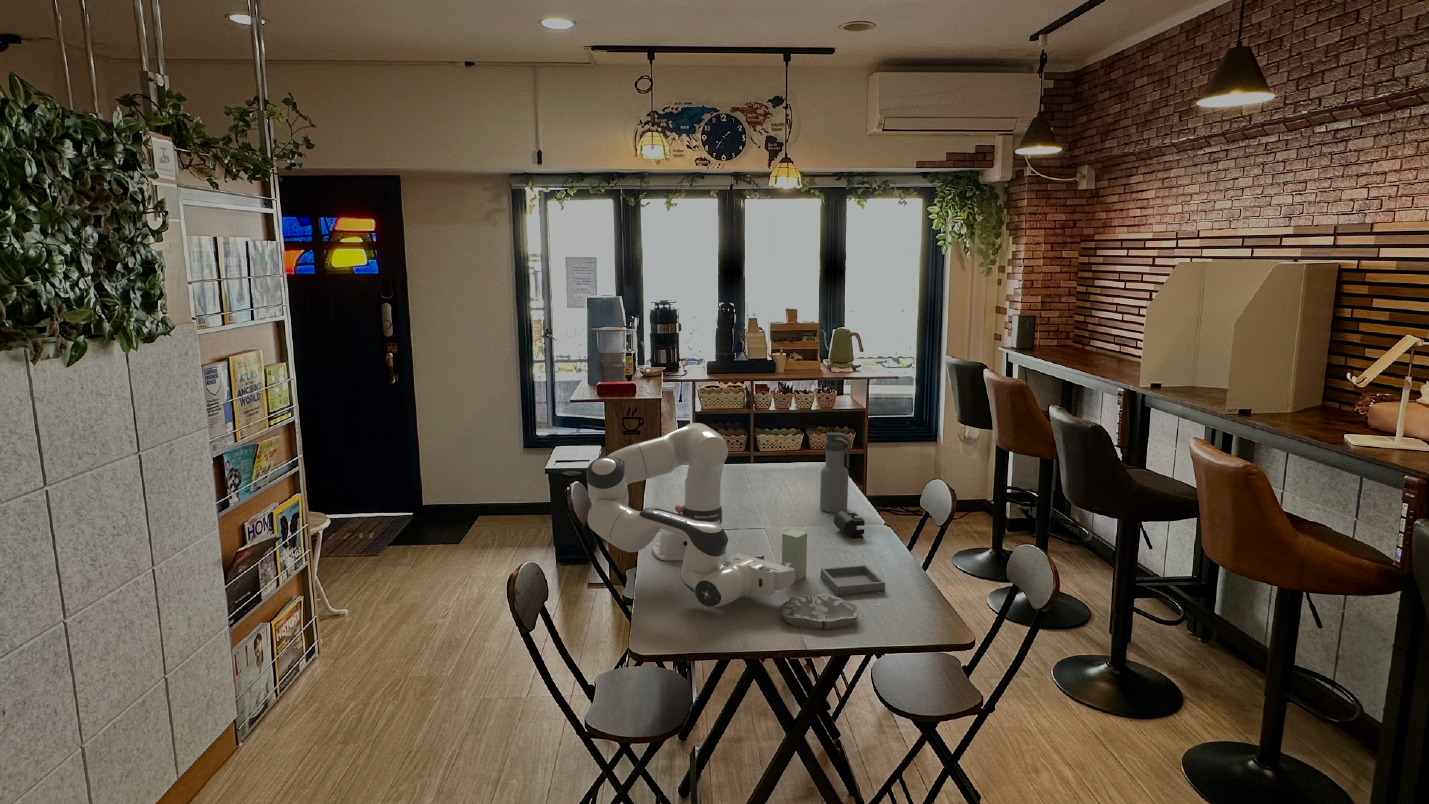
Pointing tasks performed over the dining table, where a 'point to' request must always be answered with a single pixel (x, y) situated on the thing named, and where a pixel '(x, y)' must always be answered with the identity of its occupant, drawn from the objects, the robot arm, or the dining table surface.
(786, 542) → the sage block
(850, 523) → the end cap
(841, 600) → the brain slice
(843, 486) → the water bottle
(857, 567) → the grey tray
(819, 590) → the dining table surface
